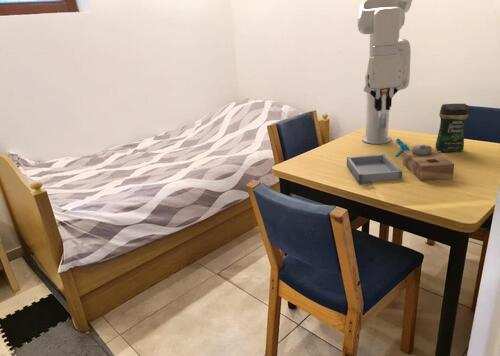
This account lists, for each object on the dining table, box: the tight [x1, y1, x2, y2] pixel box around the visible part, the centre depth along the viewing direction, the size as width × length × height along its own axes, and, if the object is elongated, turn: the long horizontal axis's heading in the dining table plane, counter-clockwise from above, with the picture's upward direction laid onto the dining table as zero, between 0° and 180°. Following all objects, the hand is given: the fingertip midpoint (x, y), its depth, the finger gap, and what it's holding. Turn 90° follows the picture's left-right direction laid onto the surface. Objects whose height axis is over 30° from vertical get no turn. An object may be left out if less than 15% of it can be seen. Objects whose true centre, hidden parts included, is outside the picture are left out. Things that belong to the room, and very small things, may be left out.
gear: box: [394, 138, 411, 158], centre depth 141 cm, size 11×6×10 cm
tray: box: [346, 153, 403, 185], centre depth 129 cm, size 18×14×4 cm
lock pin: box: [378, 88, 389, 129], centre depth 120 cm, size 3×3×13 cm
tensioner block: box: [402, 144, 455, 182], centre depth 124 cm, size 16×10×9 cm, turn 179°
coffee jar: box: [434, 103, 469, 154], centre depth 140 cm, size 10×8×19 cm
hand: (382, 109), depth 120 cm, fingers closed on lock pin, 2 cm apart
